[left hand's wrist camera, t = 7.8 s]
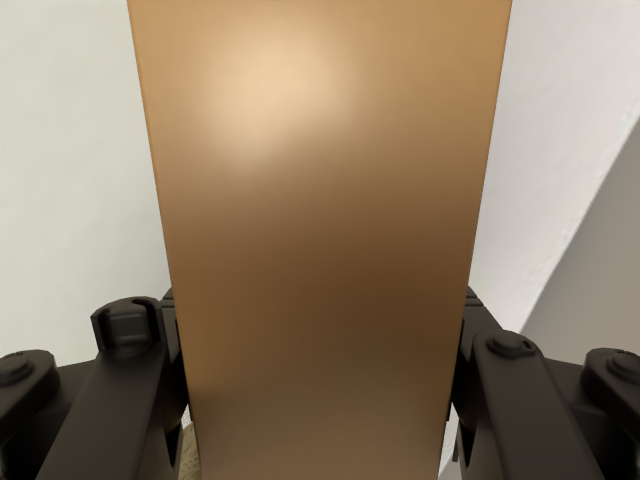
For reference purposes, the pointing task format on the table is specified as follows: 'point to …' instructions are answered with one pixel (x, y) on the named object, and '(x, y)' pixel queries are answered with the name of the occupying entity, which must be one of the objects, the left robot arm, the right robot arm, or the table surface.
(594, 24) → the table surface
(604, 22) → the table surface
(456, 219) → the bar
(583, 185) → the table surface
